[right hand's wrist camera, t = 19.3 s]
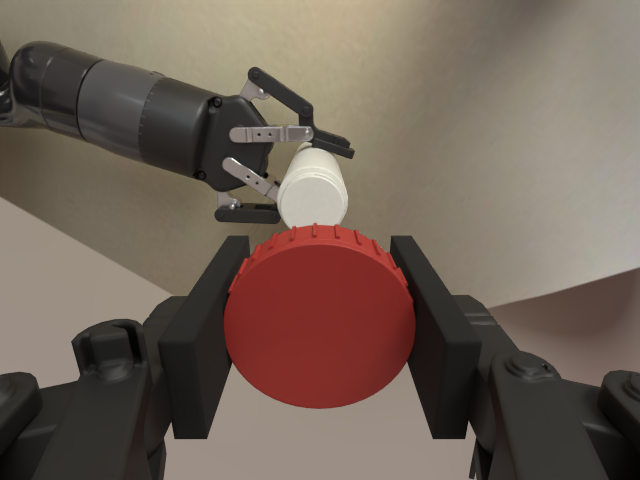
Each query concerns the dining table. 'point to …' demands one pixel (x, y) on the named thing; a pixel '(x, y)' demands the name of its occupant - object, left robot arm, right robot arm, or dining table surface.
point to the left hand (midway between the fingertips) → (342, 181)
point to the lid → (319, 317)
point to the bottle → (312, 189)
